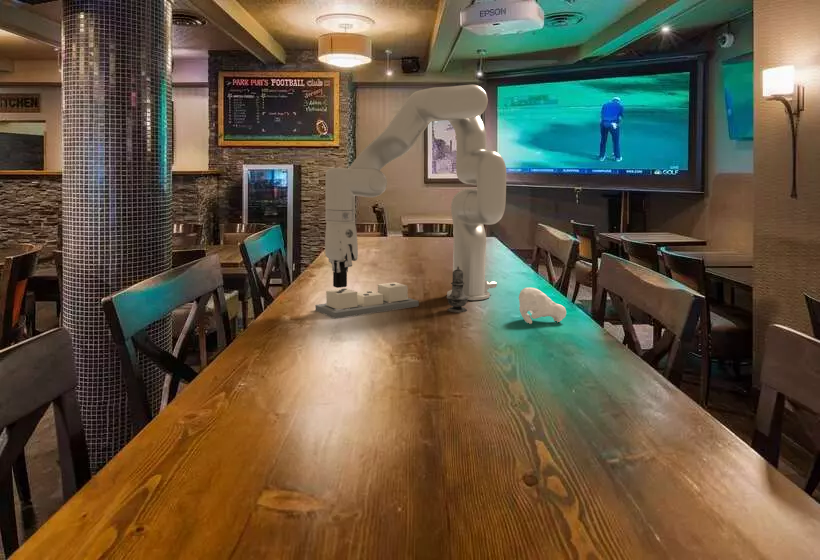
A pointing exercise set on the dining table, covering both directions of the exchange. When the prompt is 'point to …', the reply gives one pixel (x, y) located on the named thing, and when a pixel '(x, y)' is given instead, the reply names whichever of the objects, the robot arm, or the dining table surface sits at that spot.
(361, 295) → the tile two
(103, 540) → the dining table surface
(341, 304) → the tile three
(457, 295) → the grey turned candlestick
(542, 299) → the cream animal figurine
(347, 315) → the board
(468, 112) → the robot arm
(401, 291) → the tile one
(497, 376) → the dining table surface
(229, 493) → the dining table surface
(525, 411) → the dining table surface
